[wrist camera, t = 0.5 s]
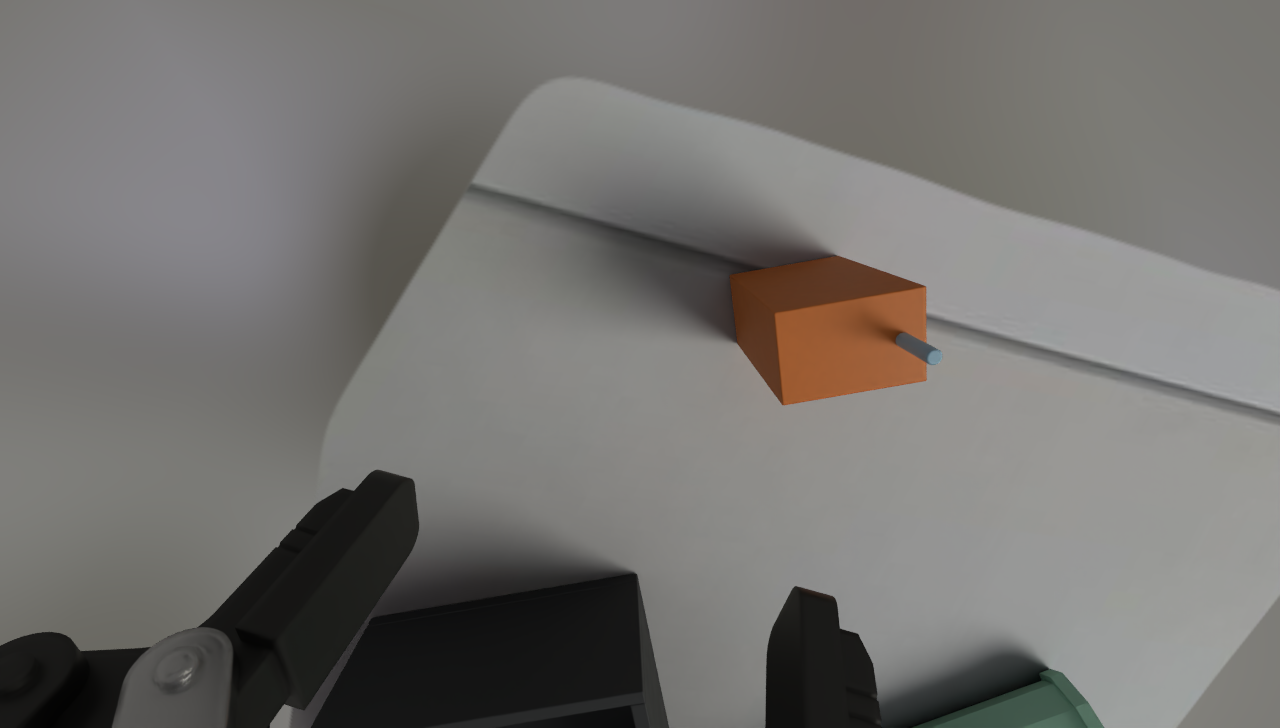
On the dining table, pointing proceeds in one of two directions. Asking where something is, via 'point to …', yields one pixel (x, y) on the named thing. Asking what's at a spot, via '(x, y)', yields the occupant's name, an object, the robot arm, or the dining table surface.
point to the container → (1027, 708)
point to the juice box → (831, 328)
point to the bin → (506, 664)
